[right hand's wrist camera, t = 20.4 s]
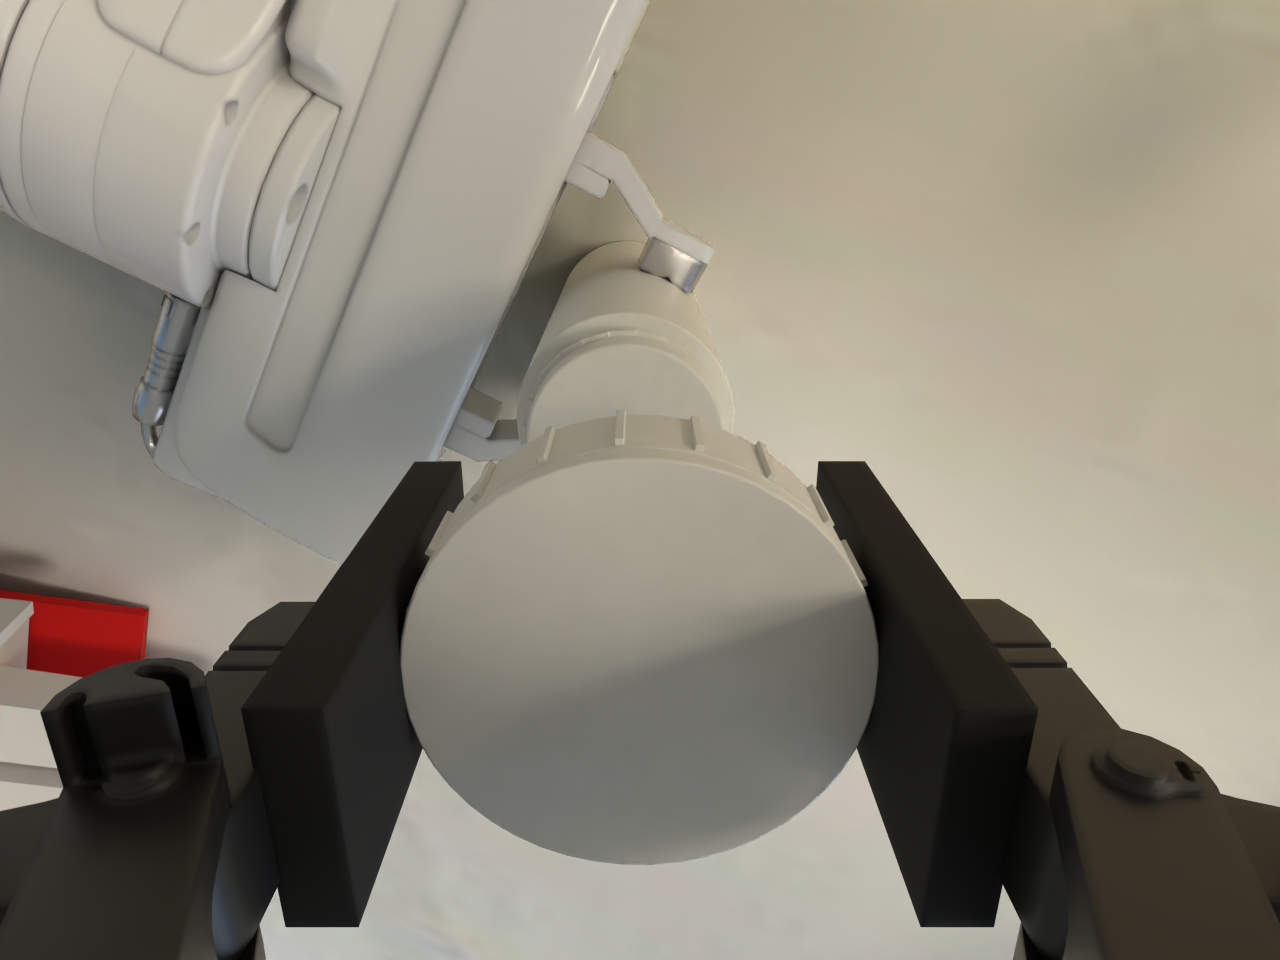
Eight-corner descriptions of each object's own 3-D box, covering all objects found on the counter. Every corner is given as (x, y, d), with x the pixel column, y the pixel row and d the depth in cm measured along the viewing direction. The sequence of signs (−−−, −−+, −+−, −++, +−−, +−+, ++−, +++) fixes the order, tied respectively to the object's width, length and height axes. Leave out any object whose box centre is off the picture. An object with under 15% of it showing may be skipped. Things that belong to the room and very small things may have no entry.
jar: (534, 288, 32) (461, 407, 18) (649, 213, 31) (664, 278, 17) (607, 397, 34) (591, 585, 20) (718, 330, 33) (784, 476, 19)
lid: (889, 427, 11) (929, 474, 9) (816, 794, 13) (840, 881, 12) (423, 392, 11) (387, 433, 9) (428, 769, 13) (400, 855, 11)
